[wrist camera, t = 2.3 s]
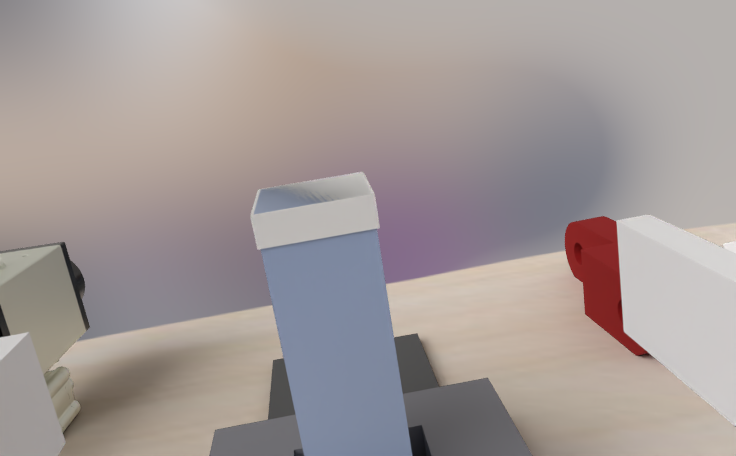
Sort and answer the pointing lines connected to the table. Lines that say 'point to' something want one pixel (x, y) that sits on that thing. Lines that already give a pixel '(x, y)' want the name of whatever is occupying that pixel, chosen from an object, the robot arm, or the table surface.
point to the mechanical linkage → (599, 274)
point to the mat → (411, 370)
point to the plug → (333, 315)
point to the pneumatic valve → (45, 313)
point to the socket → (425, 425)
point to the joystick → (730, 246)
